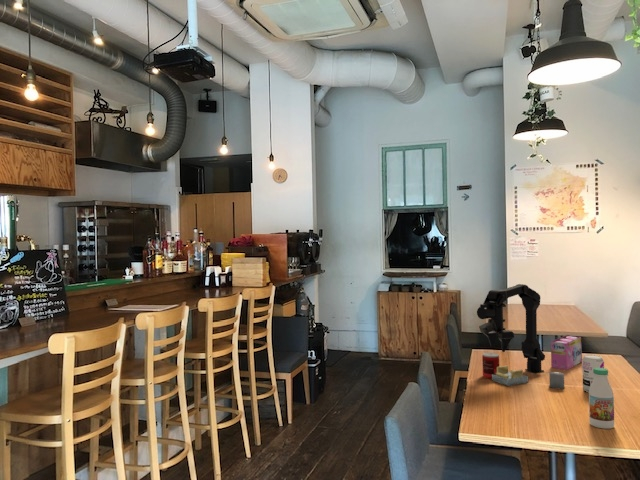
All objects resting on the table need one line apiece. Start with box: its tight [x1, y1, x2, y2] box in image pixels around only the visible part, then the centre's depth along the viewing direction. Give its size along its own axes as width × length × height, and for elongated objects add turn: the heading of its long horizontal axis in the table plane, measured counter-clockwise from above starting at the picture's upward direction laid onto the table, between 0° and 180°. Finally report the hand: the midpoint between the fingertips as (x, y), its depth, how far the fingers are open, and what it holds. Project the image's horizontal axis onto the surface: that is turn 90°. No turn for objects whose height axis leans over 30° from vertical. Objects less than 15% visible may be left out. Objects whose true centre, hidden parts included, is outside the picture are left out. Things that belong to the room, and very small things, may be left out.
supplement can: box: [581, 354, 605, 394], centre depth 215 cm, size 8×8×15 cm
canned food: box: [481, 351, 500, 380], centre depth 241 cm, size 8×8×11 cm
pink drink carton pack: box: [550, 334, 583, 371], centre depth 262 cm, size 24×8×14 cm, turn 135°
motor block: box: [491, 365, 529, 387], centre depth 233 cm, size 14×10×6 cm
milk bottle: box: [588, 367, 615, 430], centre depth 177 cm, size 8×8×20 cm
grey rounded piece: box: [548, 371, 565, 390], centre depth 223 cm, size 6×6×6 cm
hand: (497, 349), depth 237 cm, fingers open, 9 cm apart
